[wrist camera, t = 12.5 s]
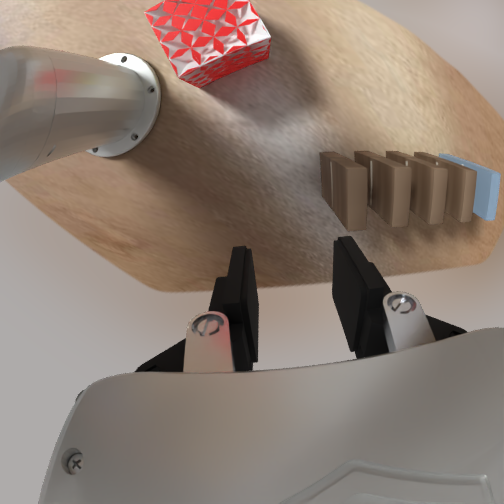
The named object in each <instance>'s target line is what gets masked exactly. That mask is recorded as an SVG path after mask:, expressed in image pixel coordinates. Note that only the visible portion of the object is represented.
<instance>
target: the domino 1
mask: <svg viewBox="0 0 504 504" xmlns="http://www.w3.org/2000/svg"><path fill="white" fill-rule="evenodd" d="M320 165H321V183H322V197H323V198H324V199H325V201H326V202H327V203H328V205H329V206H330V207H331V209H332V210H333V211H334V213H335V214H336V216H337V217H338V218H339V220H340V221H341V222H342V224H343V225H344V227H345V228H346V230H347V231H357V230H366V223H367V168H366V167H364V166H362V165H360V164H358V163H356V162H354V161H352V160H350V159H348V158H346V157H344V156H342V155H340V154H338V153H336V152H320Z"/></svg>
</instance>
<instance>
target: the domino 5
mask: <svg viewBox="0 0 504 504" xmlns="http://www.w3.org/2000/svg"><path fill="white" fill-rule="evenodd" d="M439 157H440V158H443V159H446V160H449V161H452V162H454V163H457V164H460V165H463V166H465V167H468V168H470V169H473V170H475V171H477V180H476V190H475V199H474V206H473V213H475V214H476V215H478V216H480V217H481V218H483V219H484V220H486V221H488V220H495V214H496V208H497V201H498V194H499V185H500V173H498V172H496V171H493V170H491V169H488V168H486V167H483V166H481V165H478V164H475V163H473V162H470V161H467V160H464V159H461V158H458V157H455V156H452V155H449V154H439Z"/></svg>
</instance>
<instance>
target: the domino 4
mask: <svg viewBox="0 0 504 504" xmlns="http://www.w3.org/2000/svg"><path fill="white" fill-rule="evenodd" d="M414 157H416V158H419V159H422V160H425V161H428V162H430V163H433V164H436V165H438V166H441V167H443V168H446V169H448V177H447V191H446V201H445V210H444V211H445V212H446V213H448V214H449V215H451V216H452V217H454V218H455V219H456V220H458V221H459V222H471V220H472V213H473V206H474V199H475V190H476V180H477V171H475V170H473V169H470V168H468V167H465V166H463V165H460V164H457V163H454V162H452V161H449V160H446V159H443V158H440V157H437V156H434V155H431V154H428V153H424V152H414Z"/></svg>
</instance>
